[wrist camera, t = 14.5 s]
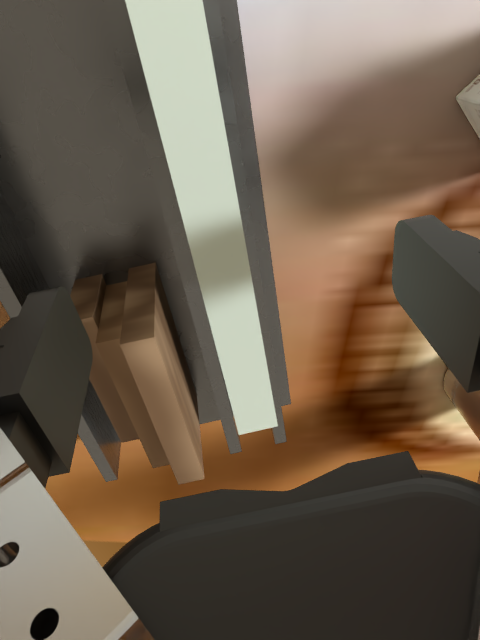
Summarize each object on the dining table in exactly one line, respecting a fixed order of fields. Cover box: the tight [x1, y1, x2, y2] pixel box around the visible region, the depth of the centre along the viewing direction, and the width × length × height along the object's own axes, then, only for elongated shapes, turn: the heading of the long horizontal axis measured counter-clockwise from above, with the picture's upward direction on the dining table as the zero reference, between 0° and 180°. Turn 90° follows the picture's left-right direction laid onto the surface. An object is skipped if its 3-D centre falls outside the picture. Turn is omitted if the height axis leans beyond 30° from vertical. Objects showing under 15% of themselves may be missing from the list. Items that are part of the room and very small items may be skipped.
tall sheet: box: [125, 0, 278, 435], centre depth 20 cm, size 2×16×18 cm, turn 9°
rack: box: [0, 0, 291, 482], centre depth 31 cm, size 19×38×6 cm, turn 9°
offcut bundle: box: [70, 263, 204, 484], centre depth 33 cm, size 6×14×9 cm, turn 9°
